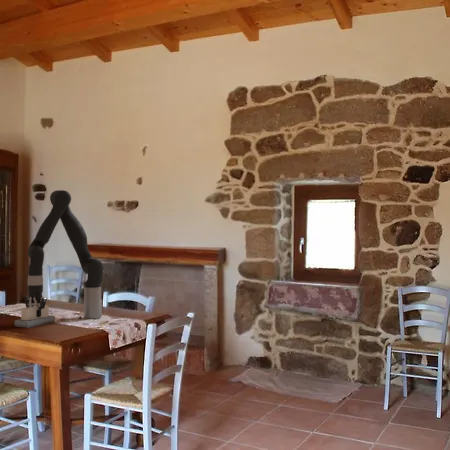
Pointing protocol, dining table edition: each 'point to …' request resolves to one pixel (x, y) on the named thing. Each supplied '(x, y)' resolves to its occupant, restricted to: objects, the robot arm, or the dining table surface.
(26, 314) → the beige rectangular block
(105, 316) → the dining table surface
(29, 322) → the grey flat block
